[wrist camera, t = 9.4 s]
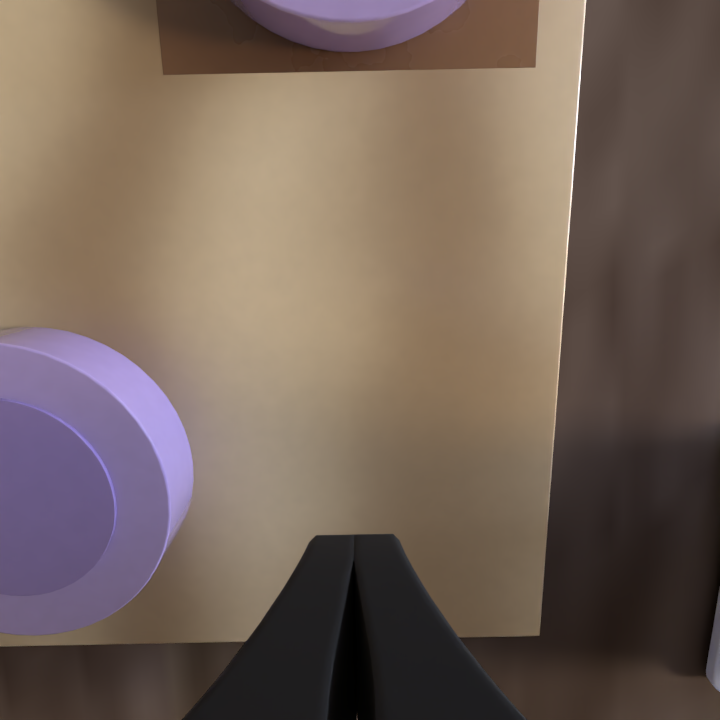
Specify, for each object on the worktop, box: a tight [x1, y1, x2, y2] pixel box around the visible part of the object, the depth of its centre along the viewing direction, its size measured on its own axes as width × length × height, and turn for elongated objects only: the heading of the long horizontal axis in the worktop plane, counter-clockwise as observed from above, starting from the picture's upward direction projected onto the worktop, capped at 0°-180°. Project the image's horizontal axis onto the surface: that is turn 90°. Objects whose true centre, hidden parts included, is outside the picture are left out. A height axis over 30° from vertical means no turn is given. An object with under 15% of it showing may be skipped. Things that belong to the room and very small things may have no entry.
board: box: [0, 0, 586, 646], centre depth 12 cm, size 20×24×1 cm
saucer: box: [0, 327, 194, 636], centre depth 13 cm, size 7×7×2 cm
